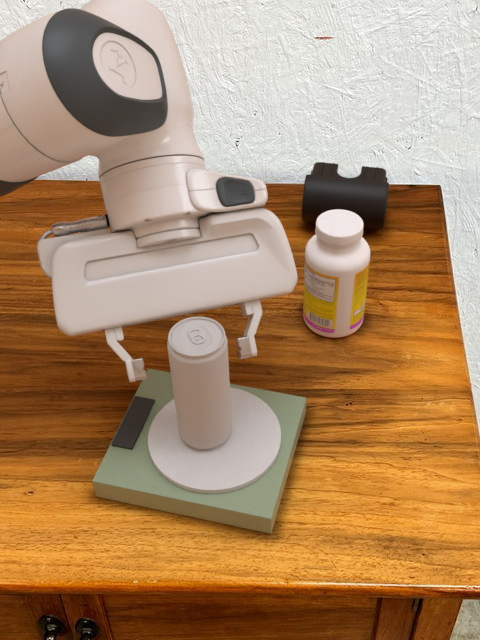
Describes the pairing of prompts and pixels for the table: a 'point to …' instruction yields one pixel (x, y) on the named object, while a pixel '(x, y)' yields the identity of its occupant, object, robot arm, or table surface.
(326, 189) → the black notched block
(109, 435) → the table surface
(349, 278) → the supplement bottle
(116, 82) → the robot arm
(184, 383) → the beverage can
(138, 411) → the scale
